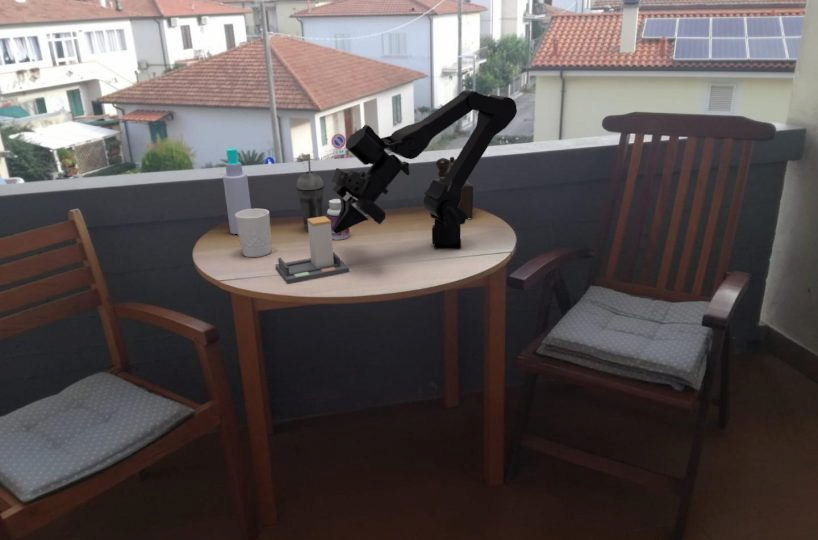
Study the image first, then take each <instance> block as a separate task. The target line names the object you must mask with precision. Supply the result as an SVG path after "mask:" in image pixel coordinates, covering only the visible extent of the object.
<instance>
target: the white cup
mask: <svg viewBox="0 0 818 540" xmlns="http://www.w3.org/2000/svg"><path fill="white" fill-rule="evenodd" d="M235 217H236V223H237V228H238V234H239V235H238V238H239V242H240V246H241V247H240V248H241V253H242V255H243V256H245V257H248V258H259V257H264V256H268V255H269V254H270V253H271V252H272V242H271V240H272V237H271V233H272V232H271V220H270V211H269V210H268V209H265V208H251V209H247V210H242V211H239V212H237V213H236V214H235Z"/></svg>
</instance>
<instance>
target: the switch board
mask: <svg viewBox="0 0 818 540" xmlns="http://www.w3.org/2000/svg"><path fill="white" fill-rule="evenodd" d="M333 259H334V265H329V266H324V267H318V268H316V267H315V266H314V264H313V263H312V262H311V257H309V258H305V259H300V260H295V261H287V262H285V261H284V260H283V259H282V257H278V258H277V261H278V263H277V264H274V265H275V269H276V271H277V272H278V273H279V275H280V276H281V277H282V278H283V281H285V283H286V284H287V285H289V284H293V283H294V284H295V283H299V282H303V281H309V280H315V279H320V278H325V277H329V276H336V275H340V274H341V275H342V274H345V273H350V267H349V266H348V265H347V264H346V263H344V262H343V261H342V260H341V257H340V256H339V255H337V254H336V253H335V252H334V251H333Z"/></svg>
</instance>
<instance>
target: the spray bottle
mask: <svg viewBox="0 0 818 540" xmlns="http://www.w3.org/2000/svg"><path fill="white" fill-rule="evenodd" d="M226 156H227V162H226V163H225V170H226V171H225V172H226V173H225V174H223V175H222V179H223V181H222V182H223V187H224V188H223V189H224V194H225V203H226V208H227V217H228V223H229V224H228V225H229V232H230V233H231V234H232V235H235V234H237V235H236V236H239V234H238V228H237V223H236V217H235V214H236V213H237V212H239V211H242V210H247V209H252V205H251V198H250V189H249V182H248V181H249V179H248V174H247V173H246V172H244V171H243V165H242V162H240V161H239V157H238V156H239V155H238V149H237V148H228V149H226Z"/></svg>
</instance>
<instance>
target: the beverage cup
mask: <svg viewBox="0 0 818 540" xmlns="http://www.w3.org/2000/svg"><path fill="white" fill-rule="evenodd" d="M307 160H308V165H307V166H308V171H306V172H304V173H302V174H301V175H300V176H299V177H298V179H297V182H296V188H295V190H296V191H297V195H298V199H299V203H300V210H301V215H302V219H303V225H304V229H305V232H308V233H309V230H308V221H307V219H309V218H316V217H322V216H323V215H324V209H323V208H324V192H325V185H324V181H323V179H322V177H321V176H320V175H319V174H318V173H316V172H314V171H311V154H310V153H309V154H307Z"/></svg>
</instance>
